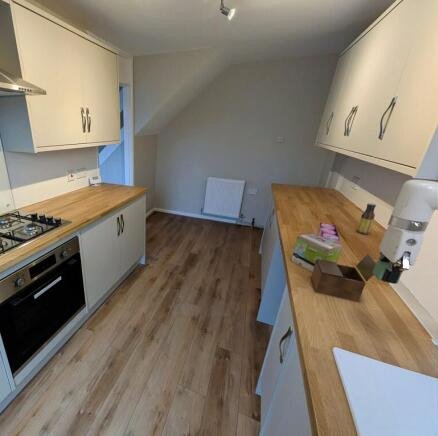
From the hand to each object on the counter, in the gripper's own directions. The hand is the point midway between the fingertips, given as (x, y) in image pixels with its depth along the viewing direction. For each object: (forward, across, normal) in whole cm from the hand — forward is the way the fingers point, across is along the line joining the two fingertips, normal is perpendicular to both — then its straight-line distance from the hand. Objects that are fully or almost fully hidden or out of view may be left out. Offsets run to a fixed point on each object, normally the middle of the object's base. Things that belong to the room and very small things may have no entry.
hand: (384, 277), depth 74 cm
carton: (+19, +19, +5) cm, 27 cm away
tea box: (+20, +36, +10) cm, 42 cm away
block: (0, 0, 0) cm, 0 cm away
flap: (+6, +19, -3) cm, 20 cm away
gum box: (+20, +56, +1) cm, 59 cm away
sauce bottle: (+20, +100, -30) cm, 106 cm away
